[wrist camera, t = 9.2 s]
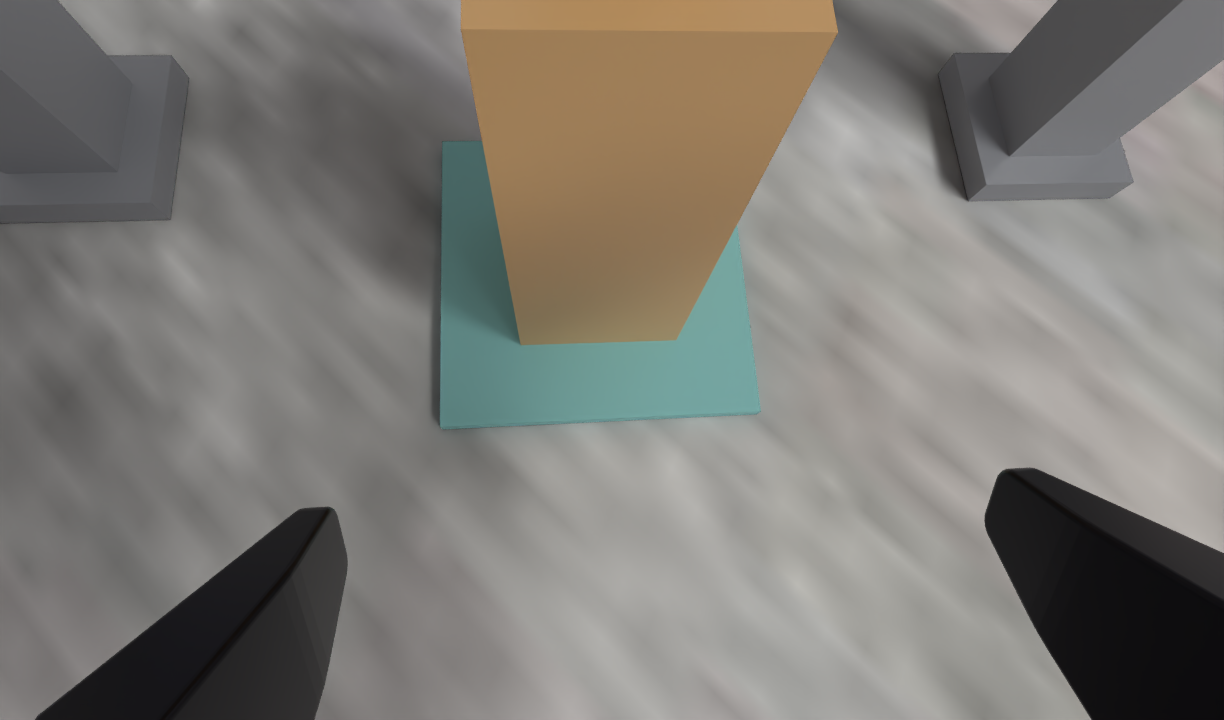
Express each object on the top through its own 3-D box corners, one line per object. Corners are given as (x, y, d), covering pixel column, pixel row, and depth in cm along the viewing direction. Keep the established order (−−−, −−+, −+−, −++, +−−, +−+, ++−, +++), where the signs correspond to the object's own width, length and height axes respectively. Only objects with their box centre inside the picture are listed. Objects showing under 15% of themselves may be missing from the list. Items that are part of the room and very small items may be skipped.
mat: (756, 414, 20) (760, 411, 19) (442, 429, 19) (439, 426, 18) (723, 145, 22) (726, 138, 22) (444, 148, 21) (442, 141, 21)
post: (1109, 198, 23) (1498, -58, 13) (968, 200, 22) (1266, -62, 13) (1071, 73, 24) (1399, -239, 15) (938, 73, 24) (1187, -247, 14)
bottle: (676, 340, 20) (987, -253, 5) (520, 345, 19) (401, -282, 5) (664, 202, 21) (890, -581, 7) (518, 204, 20) (417, -621, 6)
